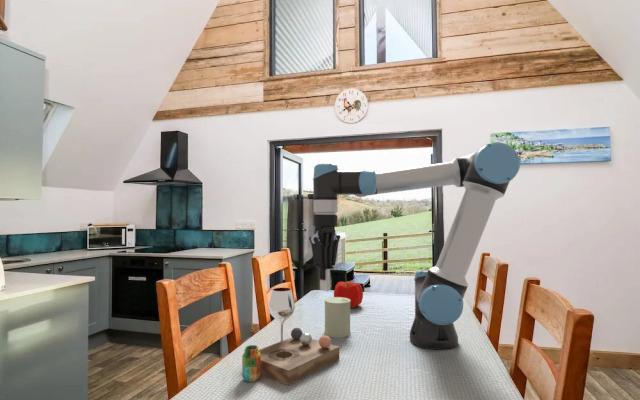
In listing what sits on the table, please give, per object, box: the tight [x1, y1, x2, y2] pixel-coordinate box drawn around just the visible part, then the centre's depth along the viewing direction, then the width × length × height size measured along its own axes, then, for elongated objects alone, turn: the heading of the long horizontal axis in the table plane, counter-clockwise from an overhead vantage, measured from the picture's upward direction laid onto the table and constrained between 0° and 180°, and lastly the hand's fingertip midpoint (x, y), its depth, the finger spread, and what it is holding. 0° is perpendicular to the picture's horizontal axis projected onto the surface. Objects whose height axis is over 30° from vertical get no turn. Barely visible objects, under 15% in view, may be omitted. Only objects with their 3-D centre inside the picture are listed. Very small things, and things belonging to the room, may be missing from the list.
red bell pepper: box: [333, 280, 364, 309], centre depth 169 cm, size 14×13×10 cm
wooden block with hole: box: [259, 337, 340, 386], centre depth 105 cm, size 16×21×4 cm
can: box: [323, 296, 351, 339], centre depth 132 cm, size 9×9×12 cm
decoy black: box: [290, 327, 303, 340], centre depth 114 cm, size 4×4×4 cm
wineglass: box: [268, 287, 296, 342], centre depth 118 cm, size 8×8×18 cm
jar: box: [241, 344, 261, 383], centre depth 95 cm, size 5×5×8 cm
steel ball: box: [300, 332, 313, 346], centre depth 109 cm, size 4×4×4 cm
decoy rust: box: [318, 334, 332, 348], centre depth 107 cm, size 4×4×4 cm
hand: (325, 289), depth 116 cm, fingers closed
